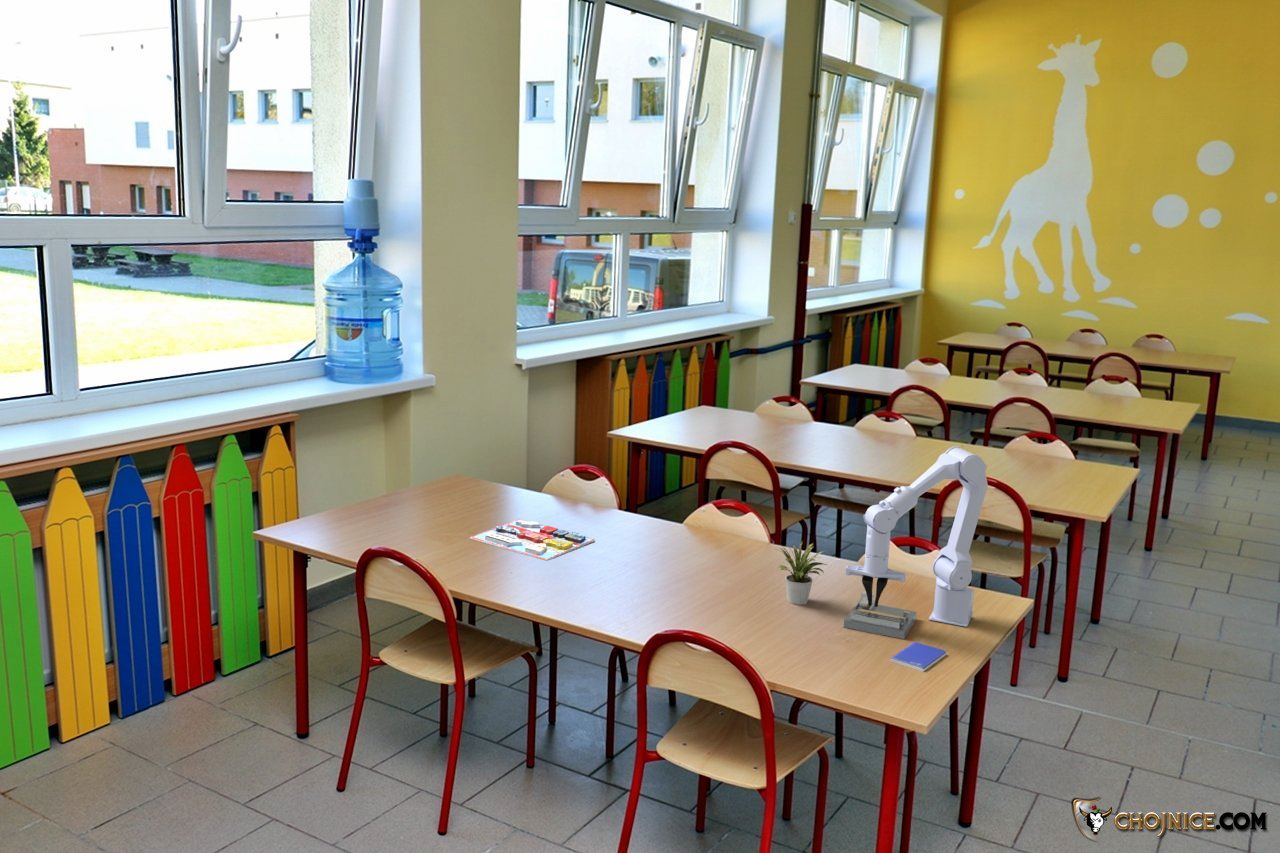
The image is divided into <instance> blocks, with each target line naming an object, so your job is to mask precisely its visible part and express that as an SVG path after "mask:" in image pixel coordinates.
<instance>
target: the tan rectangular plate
mask: <svg viewBox="0 0 1280 853" xmlns="http://www.w3.org/2000/svg"><path fill="white" fill-rule="evenodd" d="M859 610H860V611H865V612H870V613H876V614H881V615H886V616H891V617H896V618H900V616H895V615H890V614H885V613H880V612H875V611H870V610H865V609H859Z"/></svg>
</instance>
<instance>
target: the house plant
mask: <svg viewBox="0 0 1280 853" xmlns="http://www.w3.org/2000/svg"><path fill="white" fill-rule="evenodd" d="M802 545H803V541H801V542H800V544H799V546H798V547H799V548H798V549H797V547H796V546H795V544H792V546H793V549H792V548H790V547H789V546H788V545H786V547H787V548H788V549H790V550H791V552H792V556H793V558H794V560H793V558H792V557H791V555H790V553H789V552H788V551H787V549H786V548H785V547H783V546H781V547H782V548H781V547H780V548H779V549H777V548H775V550H777V551H779V552H781V553H782V554H783V555H784V556H785V557H786V558H785V561H787V563H788V564H789V565H790V566H791V568H792V570H790V569H789V567H787V566H785V565H782V564H780V565H778V567H777V570H778V571H789V573H790V574H787V575H786V576H785V588H786V596H787V602H788V603H791V604H793V605H798V606H799V605H806V604H807V603H808V601H809V597H810V596H809V595H810V593H811V588H812V583H813V581H814V580H813V578H812V577H811V576H809V574H817V575H819V576H821V574H820V572H821V573H823V574H824V573H825V572H824V570H823V569H821V568H819V567H816V566H819V565H825V566H828V564H826V563H823V562H818V561H816V559H820V557H818V555H819V554H821V553H824V552H826V550H825V551H820V552H817V553H816V554H815V555H813V556H812V557H811V558H808V557H809V555H810V554H811V551H812V549H813V548H815V545H814V542H813V543H811V544H810V543H809V545H808V546H807V547H806V549H805V550H804V552H803V553H802ZM812 561H813V562H812ZM815 561H816V562H815ZM794 562H795V563H794Z"/></svg>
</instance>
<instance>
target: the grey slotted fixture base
mask: <svg viewBox="0 0 1280 853" xmlns="http://www.w3.org/2000/svg"><path fill="white" fill-rule="evenodd" d="M860 602H861V597H860V598H859V599H858V601H857V602H856V603H855V604H854V606H853V607H852V609H851V610H850V611H849V613H848V614H847V615H846V616H845V618H844V619H843V628H846V629H850V630H857V631H861V632H866V633H870V634H875V635H880V636H885V637H886V636H887V637H891V638H896V639H901V640H905V638H906V637H907V635H908V634H909V632H910V630H911V629H912V627H913V625H914V623H915V622H916V620H917V616H918V615H917V611H913V610H910V609H909V610H908V609H905V608H904V609H902V608H897V607H893V606H888V605H882V604H878V606H877V607H874V606H875V600H874V603H873V604H872V605H871V607H869V606H867V607H865V606H860V605H859V603H860ZM859 609H865V610H870V611H875V612H880V613H885V614H890V615H895V616H900V618H896V617H891V616H886V615H881V614H876V613H870V612H865V611H860V610H859Z"/></svg>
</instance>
